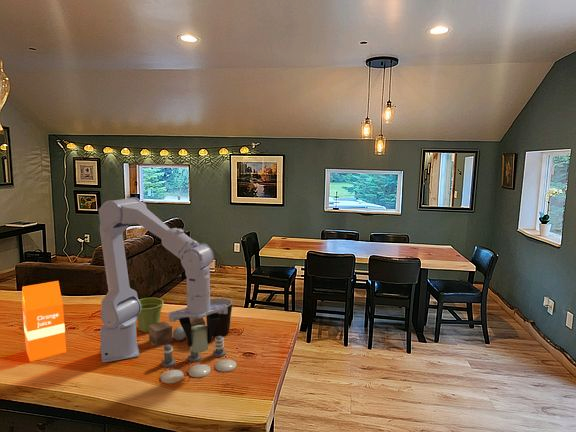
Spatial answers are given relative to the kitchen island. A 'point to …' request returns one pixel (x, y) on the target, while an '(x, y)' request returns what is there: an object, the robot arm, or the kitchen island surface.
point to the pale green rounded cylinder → (199, 338)
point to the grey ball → (179, 333)
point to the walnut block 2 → (196, 321)
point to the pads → (197, 371)
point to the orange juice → (43, 320)
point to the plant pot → (149, 313)
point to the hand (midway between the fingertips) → (199, 343)
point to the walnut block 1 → (160, 333)
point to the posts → (193, 353)
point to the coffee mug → (222, 317)
